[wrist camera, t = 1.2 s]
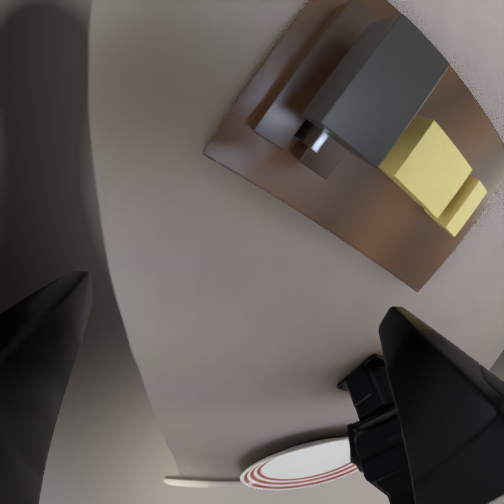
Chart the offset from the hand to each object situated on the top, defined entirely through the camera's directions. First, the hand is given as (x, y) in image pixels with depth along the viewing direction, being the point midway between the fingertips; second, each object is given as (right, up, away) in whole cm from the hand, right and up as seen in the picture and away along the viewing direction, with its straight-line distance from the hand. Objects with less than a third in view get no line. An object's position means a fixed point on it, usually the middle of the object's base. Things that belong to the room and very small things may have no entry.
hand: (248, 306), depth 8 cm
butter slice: (+15, +6, +12) cm, 20 cm away
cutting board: (+10, +9, +11) cm, 18 cm away
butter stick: (+11, +8, +10) cm, 17 cm away
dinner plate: (+11, -37, +39) cm, 54 cm away
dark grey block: (+5, +12, +8) cm, 15 cm away
